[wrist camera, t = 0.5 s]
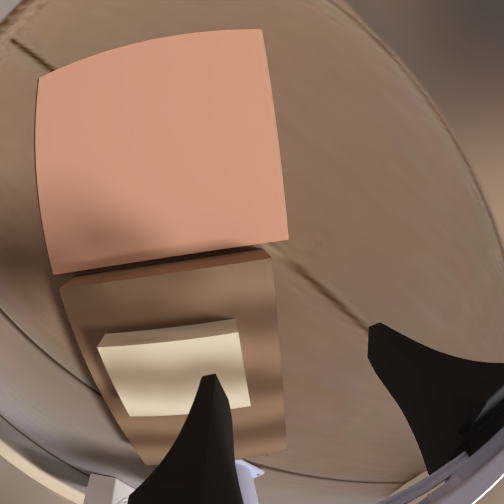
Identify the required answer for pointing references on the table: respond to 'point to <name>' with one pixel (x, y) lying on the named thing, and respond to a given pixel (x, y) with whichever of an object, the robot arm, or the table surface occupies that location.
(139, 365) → the birch tile
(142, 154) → the terracotta mat
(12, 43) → the table surface
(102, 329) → the walnut board
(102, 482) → the jar
